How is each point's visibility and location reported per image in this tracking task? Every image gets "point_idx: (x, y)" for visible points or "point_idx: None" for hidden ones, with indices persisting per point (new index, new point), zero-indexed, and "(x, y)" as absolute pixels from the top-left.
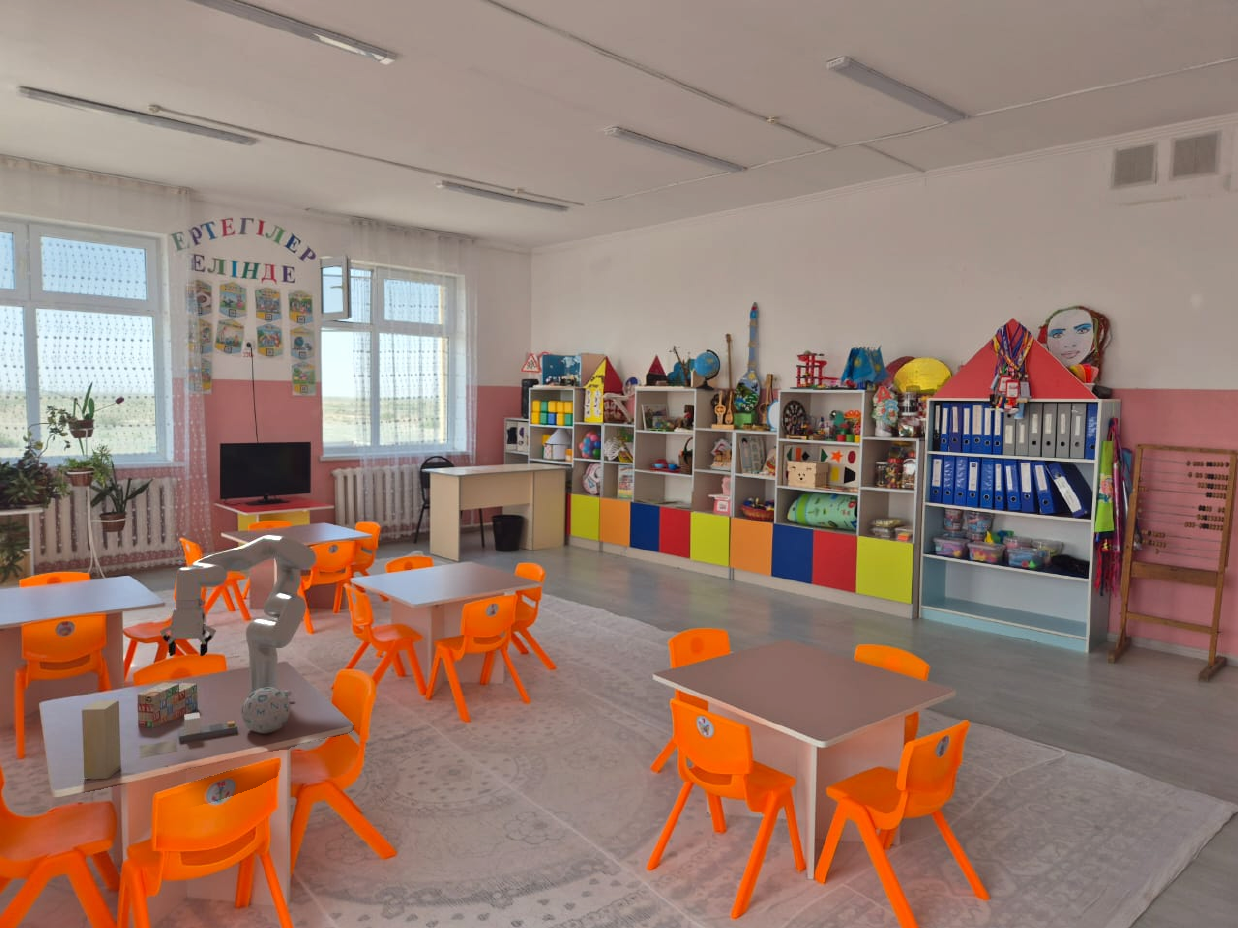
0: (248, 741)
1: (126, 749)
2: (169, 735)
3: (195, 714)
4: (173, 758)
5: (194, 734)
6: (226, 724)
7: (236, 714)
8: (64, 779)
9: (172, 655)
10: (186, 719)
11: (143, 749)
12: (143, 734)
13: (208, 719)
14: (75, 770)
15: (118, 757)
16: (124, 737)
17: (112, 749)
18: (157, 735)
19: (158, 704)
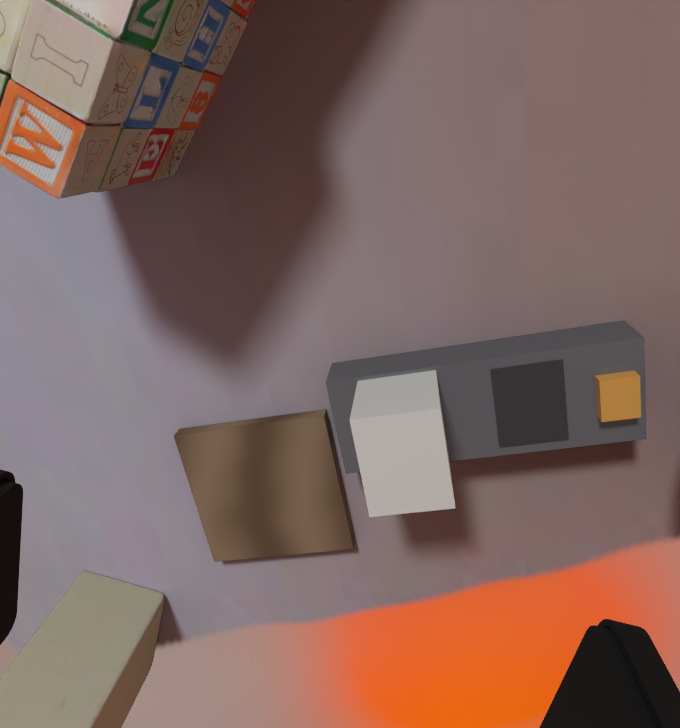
0: (675, 508)
1: (121, 412)
2: (276, 292)
3: (420, 440)
4: (347, 576)
5: None
6: (589, 379)
7: (656, 18)
8: None
9: (14, 611)
10: (375, 506)
11: (203, 482)
12: (136, 230)
13: (468, 72)
14: None
15: (142, 645)
16: (53, 244)
17: (112, 725)
18: (214, 271)
19: (125, 140)
